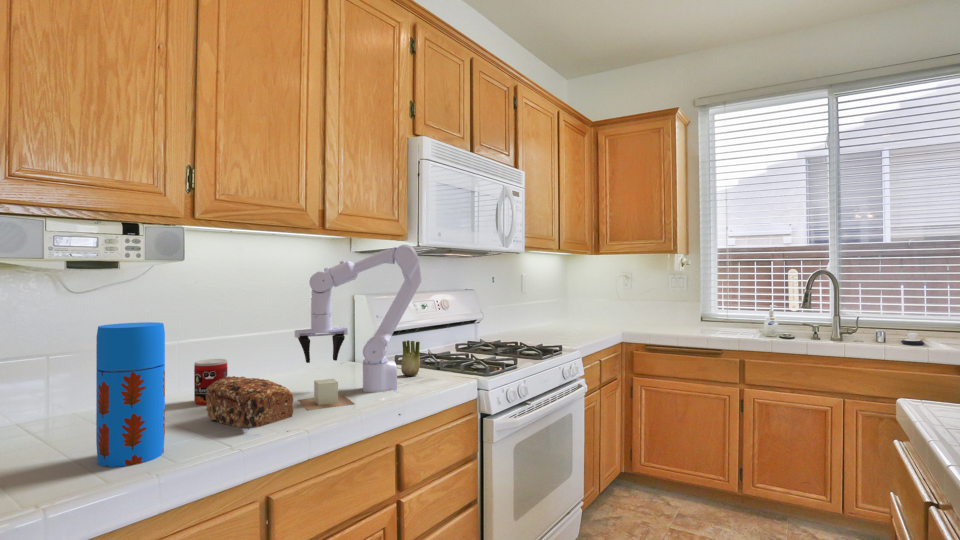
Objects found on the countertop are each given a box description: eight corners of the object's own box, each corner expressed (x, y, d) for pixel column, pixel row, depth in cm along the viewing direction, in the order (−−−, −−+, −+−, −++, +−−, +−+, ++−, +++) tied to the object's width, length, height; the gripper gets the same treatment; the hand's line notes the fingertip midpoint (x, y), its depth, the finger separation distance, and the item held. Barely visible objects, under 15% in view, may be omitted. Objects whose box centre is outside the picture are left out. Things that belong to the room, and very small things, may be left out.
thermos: (166, 459, 98) (166, 325, 98) (95, 472, 91) (95, 329, 92) (162, 443, 107) (162, 321, 107) (97, 454, 100) (97, 324, 100)
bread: (204, 421, 123) (204, 379, 123) (244, 411, 132) (244, 371, 132) (256, 433, 114) (256, 387, 114) (295, 421, 123) (295, 378, 123)
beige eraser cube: (333, 398, 140) (333, 378, 140) (338, 402, 136) (338, 381, 136) (314, 401, 138) (314, 380, 138) (318, 405, 133) (318, 384, 133)
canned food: (188, 403, 139) (188, 362, 139) (215, 397, 146) (215, 357, 147) (206, 406, 136) (206, 364, 136) (233, 400, 143) (233, 359, 143)
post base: (342, 398, 145) (342, 381, 145) (355, 407, 134) (355, 389, 134) (297, 403, 139) (297, 385, 139) (307, 414, 128) (307, 395, 128)
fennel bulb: (421, 375, 177) (421, 340, 177) (412, 378, 172) (412, 341, 172) (408, 373, 180) (408, 338, 180) (398, 376, 175) (398, 340, 175)
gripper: (343, 311, 157) (343, 357, 157) (292, 313, 150) (292, 361, 150) (349, 313, 151) (349, 360, 151) (297, 315, 144) (297, 365, 144)
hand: (321, 361), depth 150 cm, fingers open, 7 cm apart
